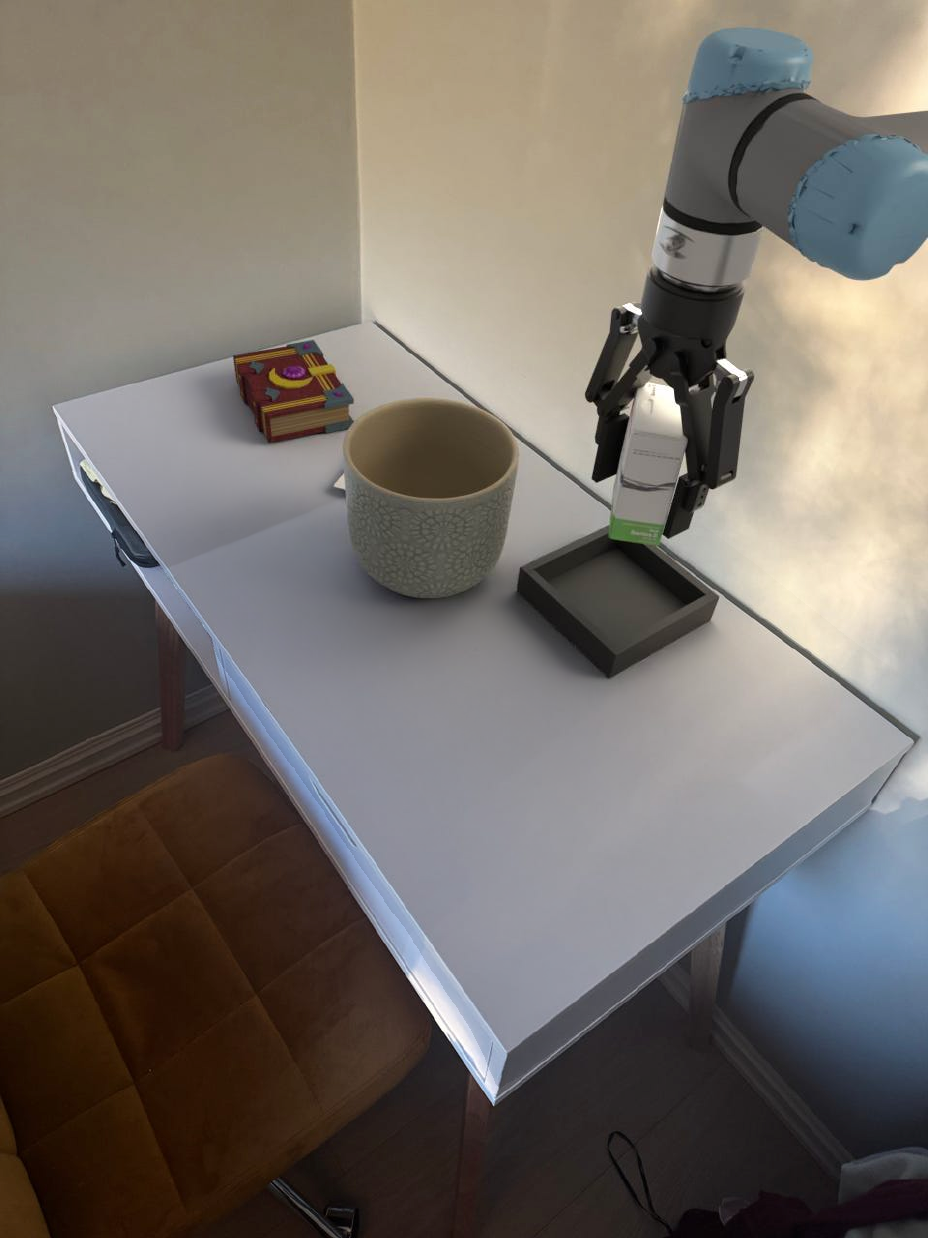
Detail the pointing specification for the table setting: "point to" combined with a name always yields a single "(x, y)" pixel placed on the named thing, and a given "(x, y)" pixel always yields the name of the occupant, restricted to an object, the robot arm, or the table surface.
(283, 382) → the decorative book
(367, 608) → the table surface
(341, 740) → the table surface
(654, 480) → the ink box
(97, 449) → the table surface
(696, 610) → the dock
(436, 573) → the planter
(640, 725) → the table surface
